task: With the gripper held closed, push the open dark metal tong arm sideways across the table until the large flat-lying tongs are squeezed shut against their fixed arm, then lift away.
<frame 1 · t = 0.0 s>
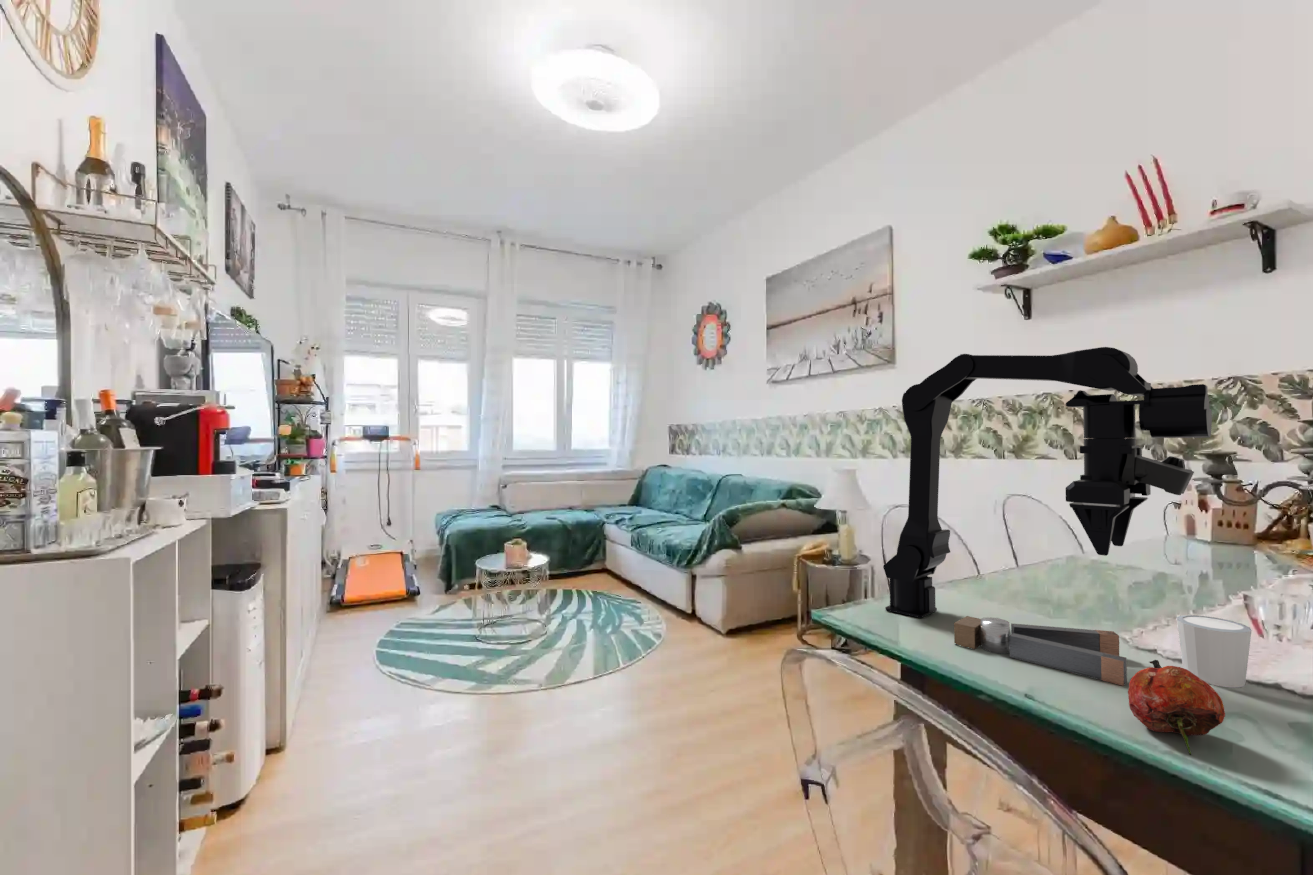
hand: (1110, 550, 80), 15 cm above the table, tool pointing down, fingers open, 9 cm apart
tong arm: (1063, 639, 81), point 2 cm above the table, hinge at 30.0°
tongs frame: (995, 648, 83), on the table
wrinkled red fruit: (1174, 738, 59), on the table
white cup: (1213, 679, 73), on the table
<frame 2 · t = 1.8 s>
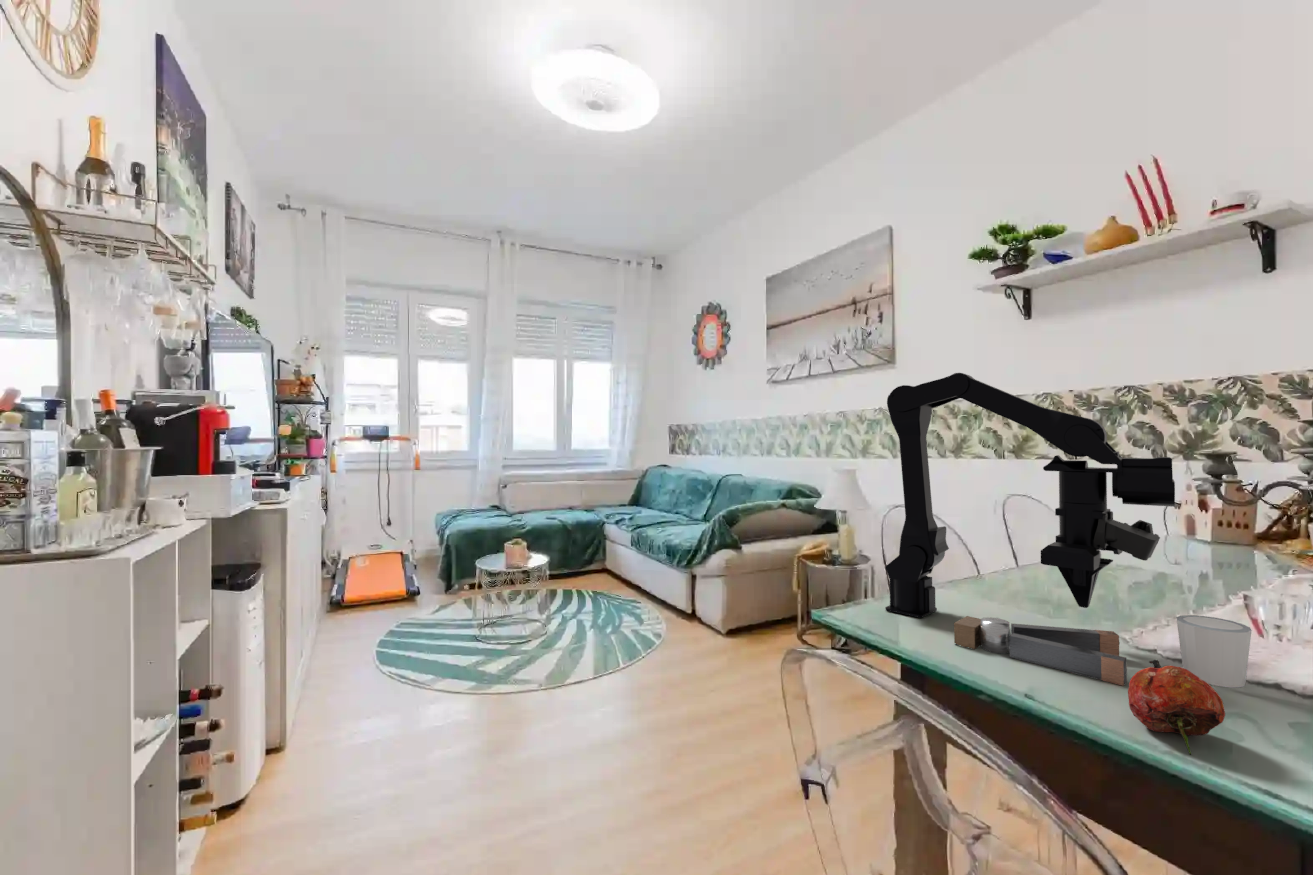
hand: (1083, 606, 85), 5 cm above the table, tool pointing down, fingers closed
nothing on the table moved.
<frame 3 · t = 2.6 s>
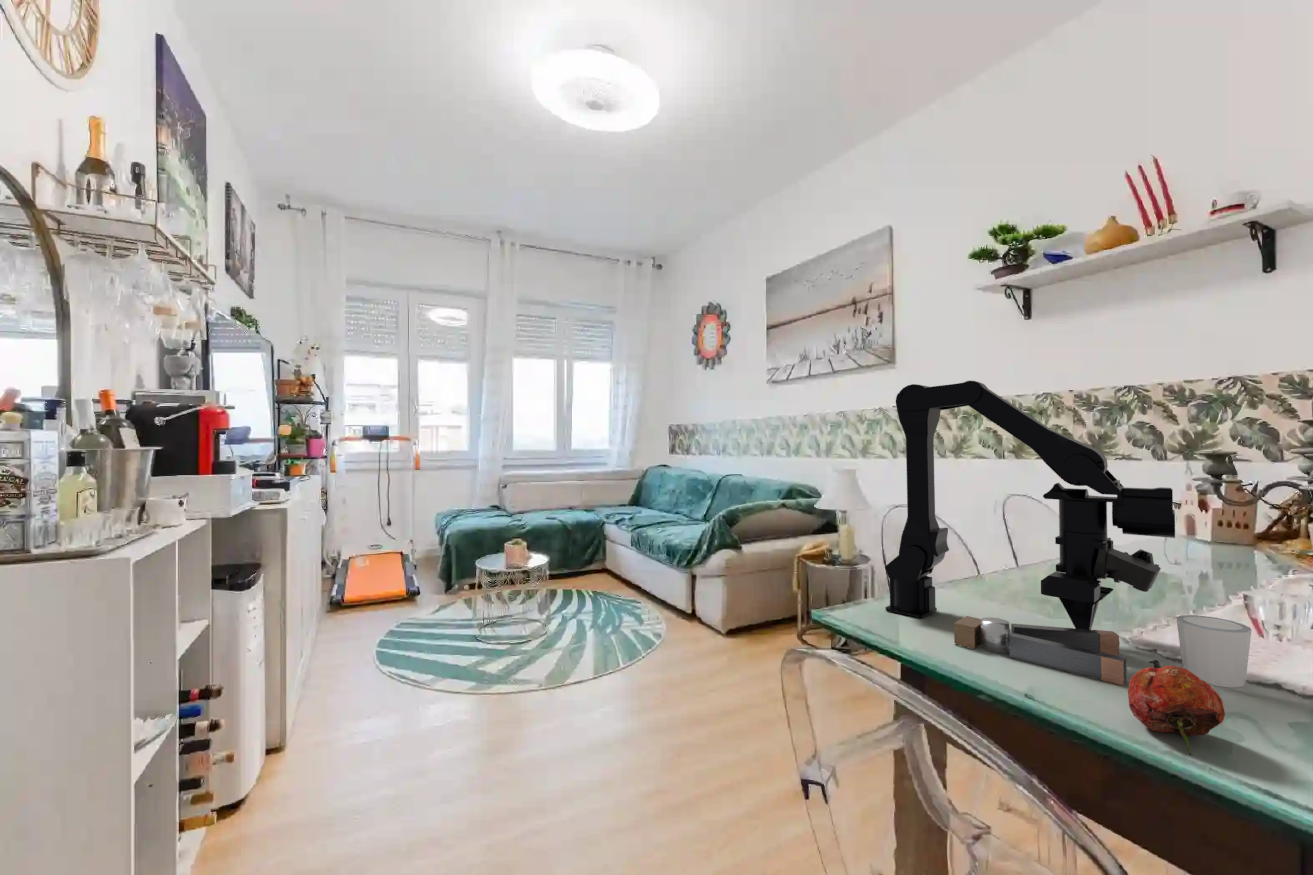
hand: (1084, 636, 85), 1 cm above the table, tool pointing down, fingers closed
nothing on the table moved.
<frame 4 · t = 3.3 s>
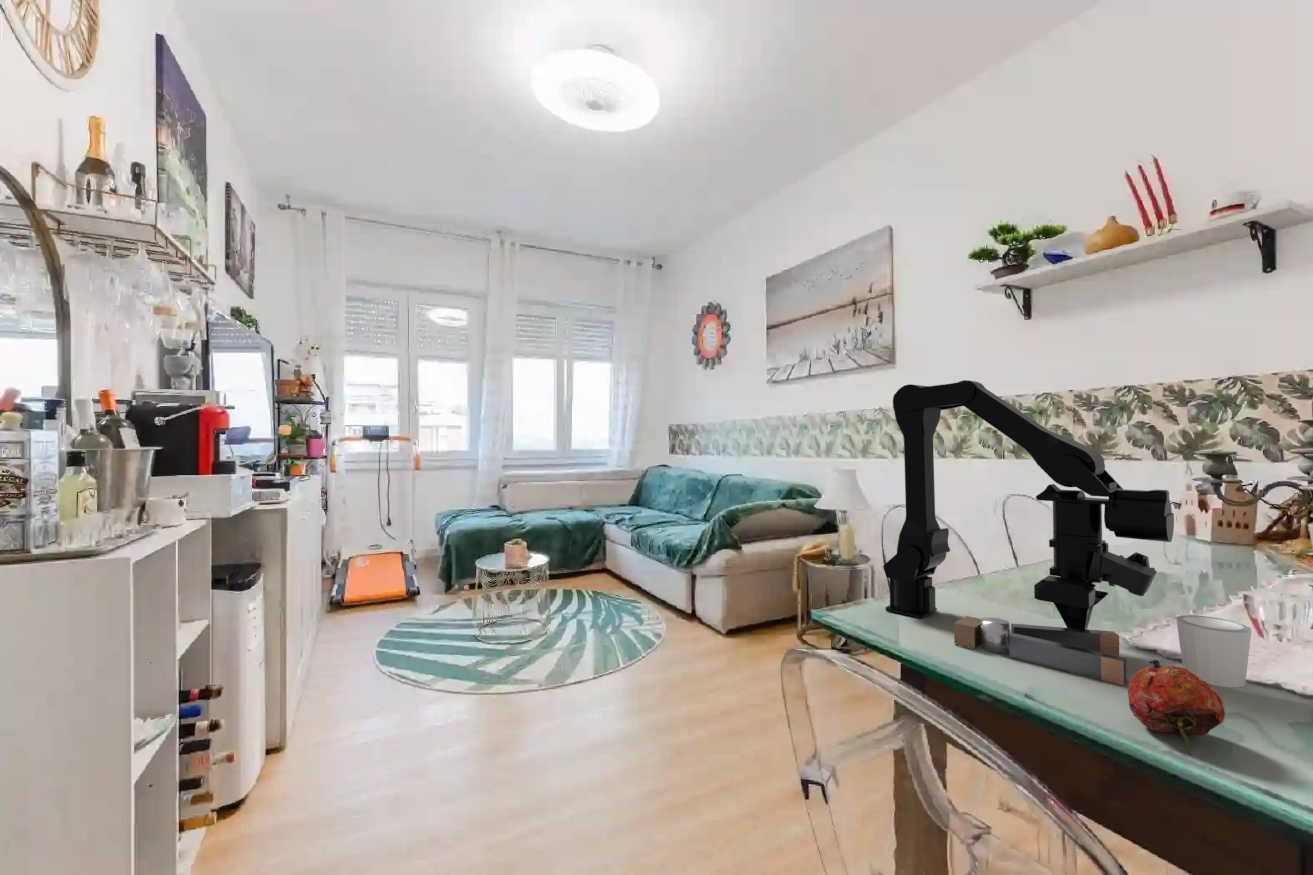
hand: (1078, 641, 83), 1 cm above the table, tool pointing down, fingers closed
tong arm: (1063, 639, 81), point 2 cm above the table, hinge at 29.9°, touching gripper
everything else where it was.
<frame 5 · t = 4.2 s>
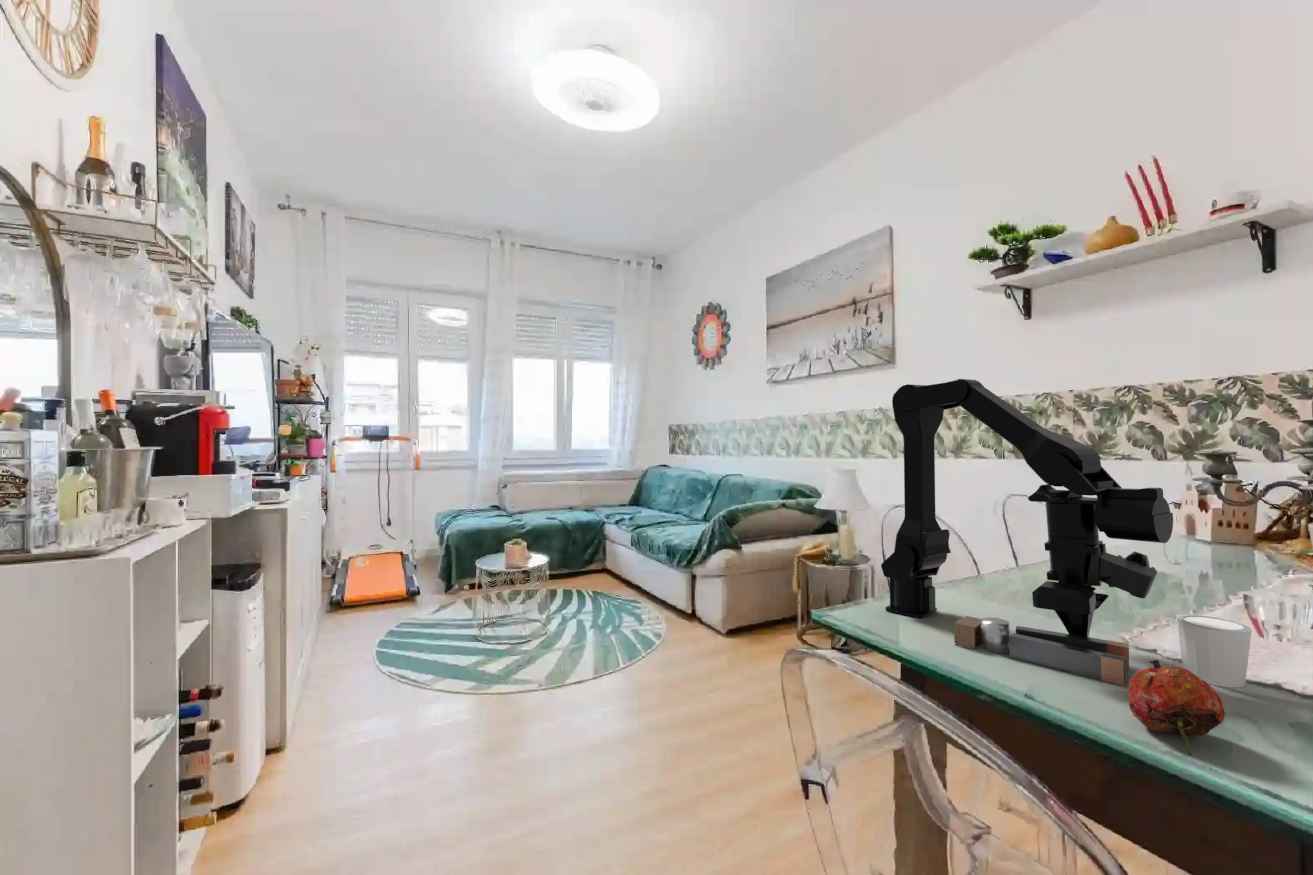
hand: (1081, 647, 80), 1 cm above the table, tool pointing down, fingers closed
tong arm: (1069, 646, 79), point 2 cm above the table, hinge at 11.0°, touching gripper
everything else where it was.
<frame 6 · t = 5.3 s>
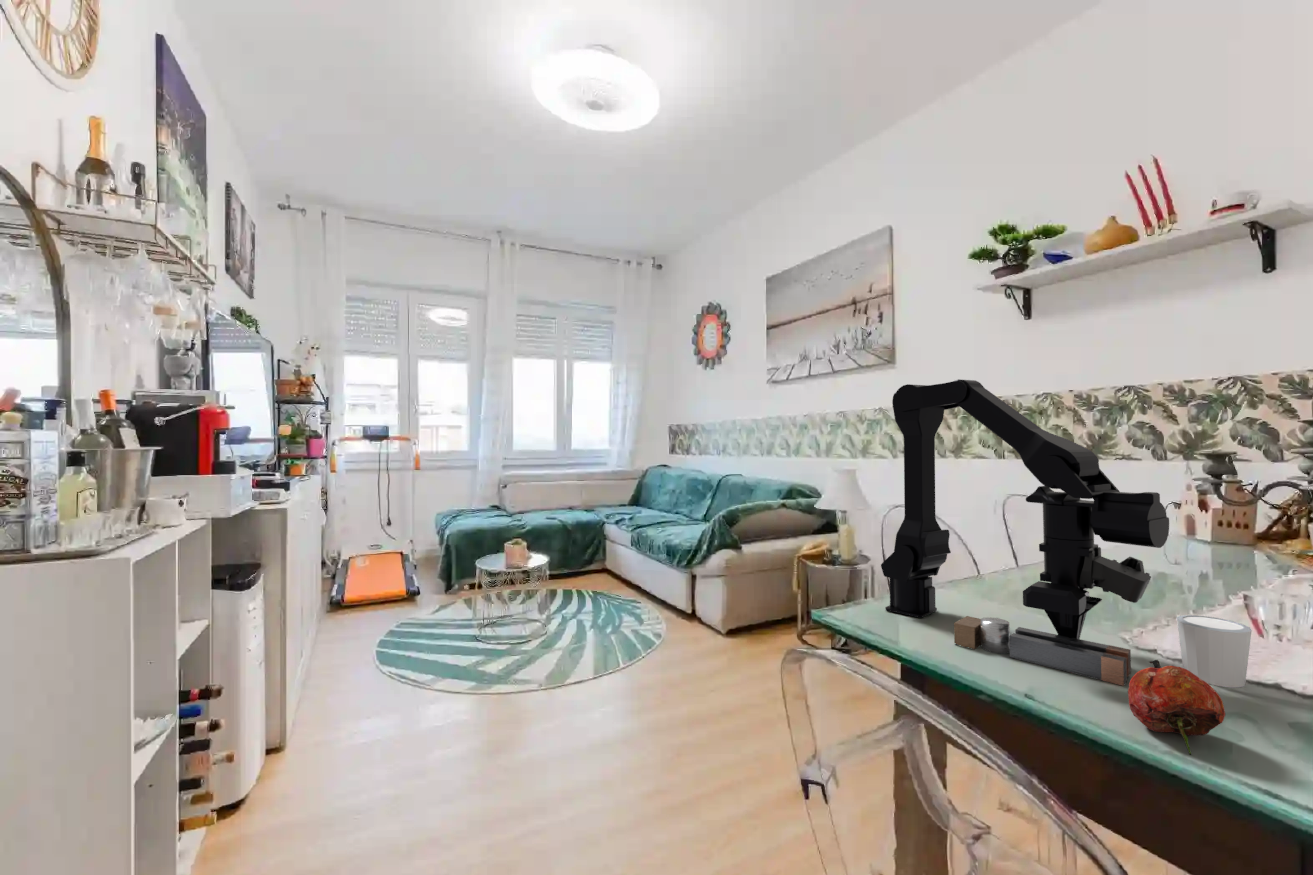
hand: (1071, 649, 80), 1 cm above the table, tool pointing down, fingers closed
tong arm: (1070, 650, 78), point 2 cm above the table, hinge at 1.4°
everything else where it was.
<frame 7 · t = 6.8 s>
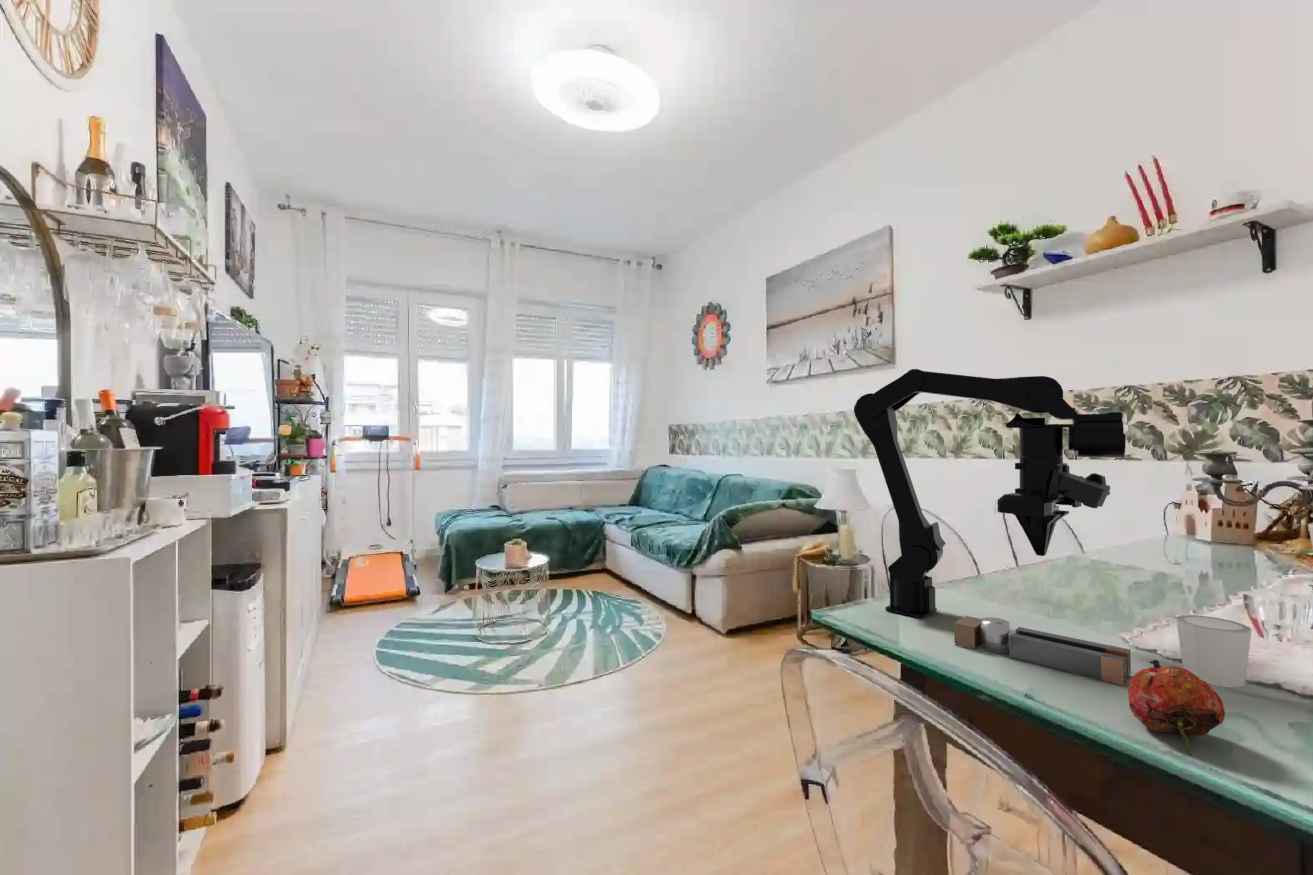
hand: (1040, 555, 91), 12 cm above the table, tool pointing down, fingers closed
nothing on the table moved.
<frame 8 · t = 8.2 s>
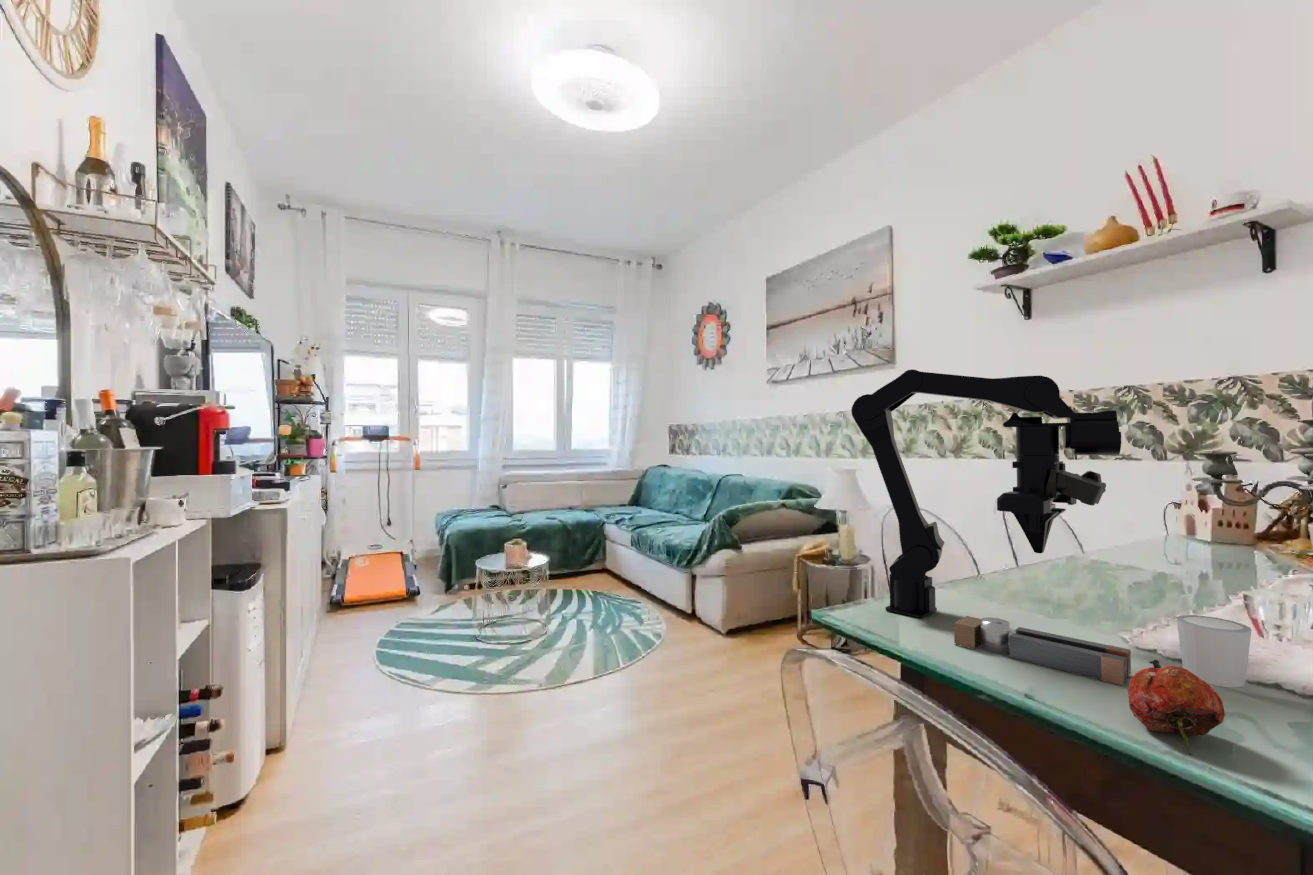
hand: (1039, 552, 92), 12 cm above the table, tool pointing down, fingers closed
nothing on the table moved.
at the end: tong arm at +1° (first picture: +30°); wrinkled red fruit moved 0.3 cm from its start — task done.
